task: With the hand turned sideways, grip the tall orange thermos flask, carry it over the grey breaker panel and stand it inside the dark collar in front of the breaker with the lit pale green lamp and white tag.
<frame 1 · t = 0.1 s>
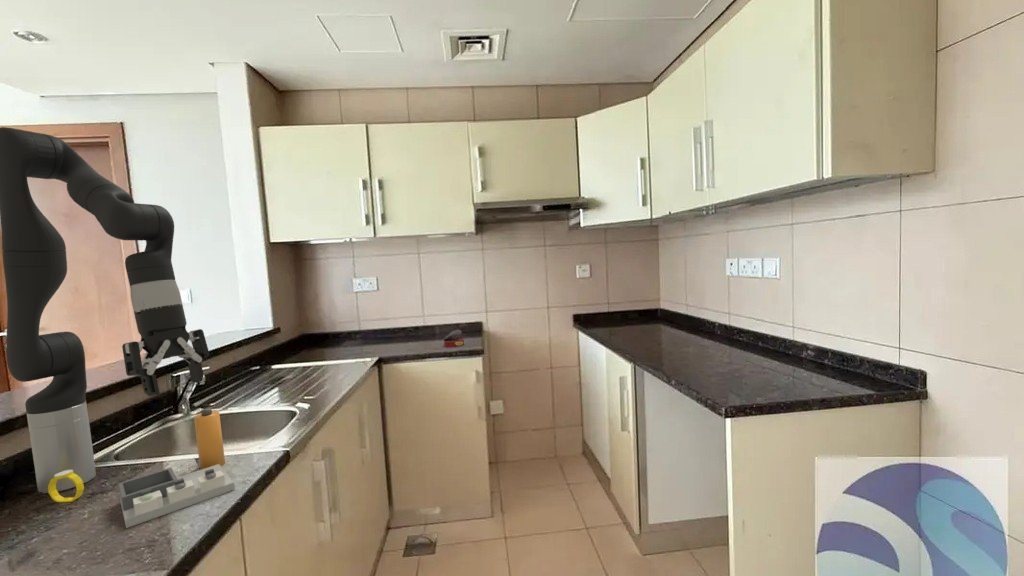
hand: (176, 388, 88), 22 cm above the table, tool pointing down, fingers open, 8 cm apart
breaker panel: (178, 495, 91), on the table
orange thermos flask: (212, 465, 105), on the table
canned food: (454, 345, 230), on the table
watch: (68, 501, 93), on the table
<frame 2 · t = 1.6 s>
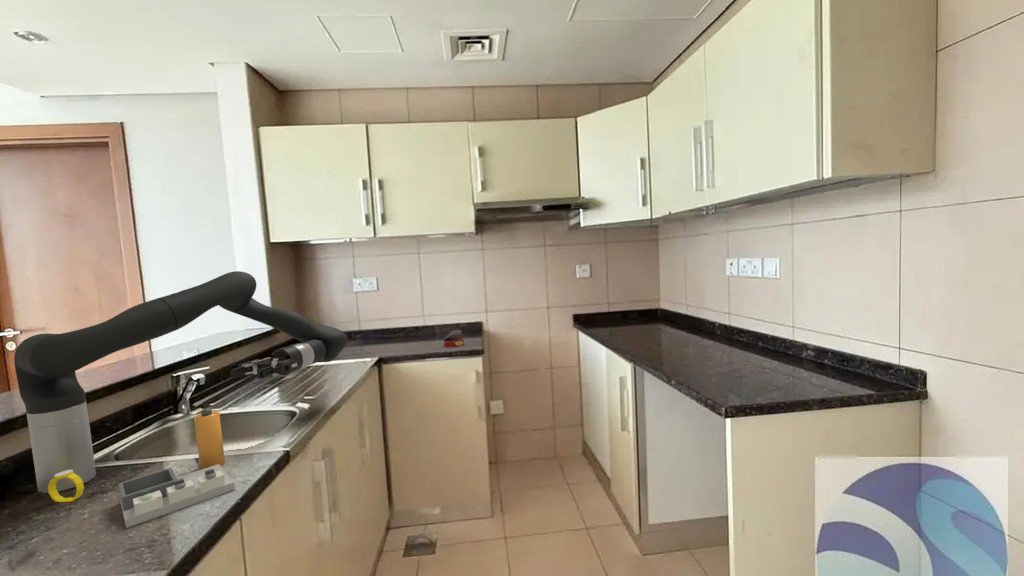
hand: (245, 374, 114), 18 cm above the table, tool horizontal, fingers open, 8 cm apart
nothing on the table moved.
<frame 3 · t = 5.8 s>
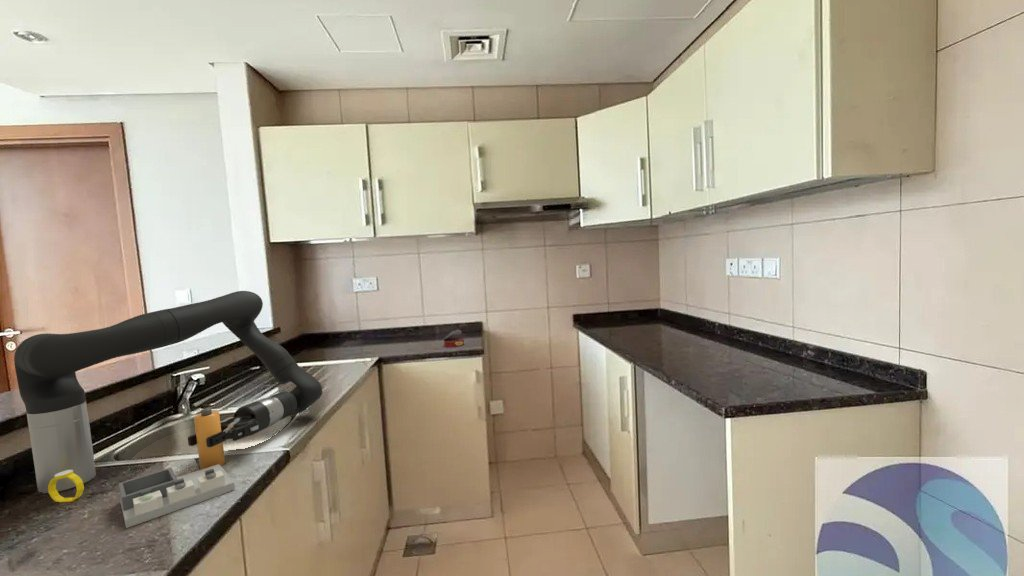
hand: (198, 442, 102), 7 cm above the table, tool horizontal, fingers closed on orange thermos flask, 4 cm apart
orange thermos flask: (212, 465, 105), on the table, touching gripper
everything else where it was.
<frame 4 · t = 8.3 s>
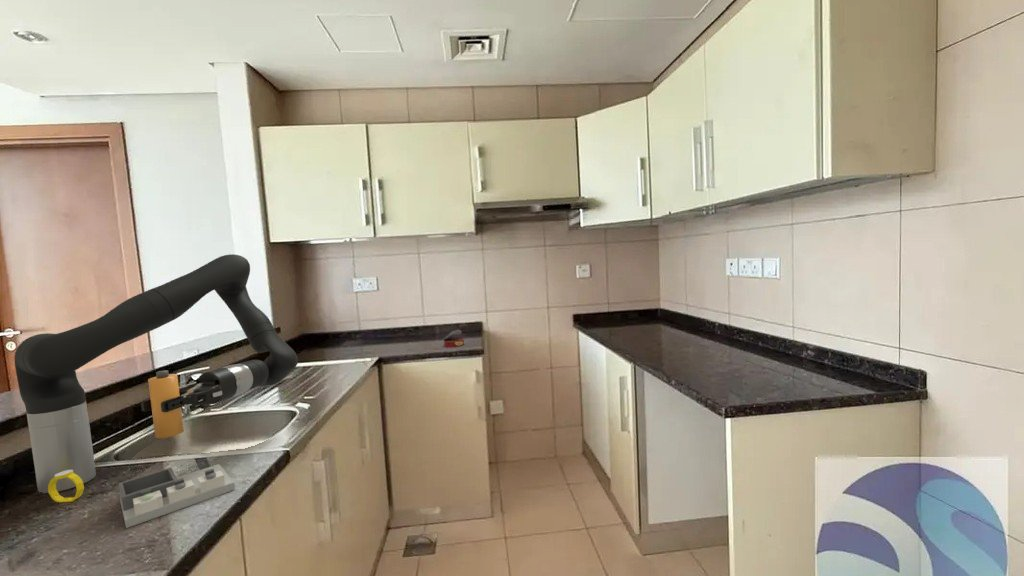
hand: (152, 407, 92), 18 cm above the table, tool horizontal, fingers closed on orange thermos flask, 4 cm apart
orange thermos flask: (169, 433, 95), point 11 cm above the table, touching gripper
everything else where it was.
when the fingers open (9 cm above the table, at t = 10.7 s): orange thermos flask drops 1 cm, resting on breaker panel.
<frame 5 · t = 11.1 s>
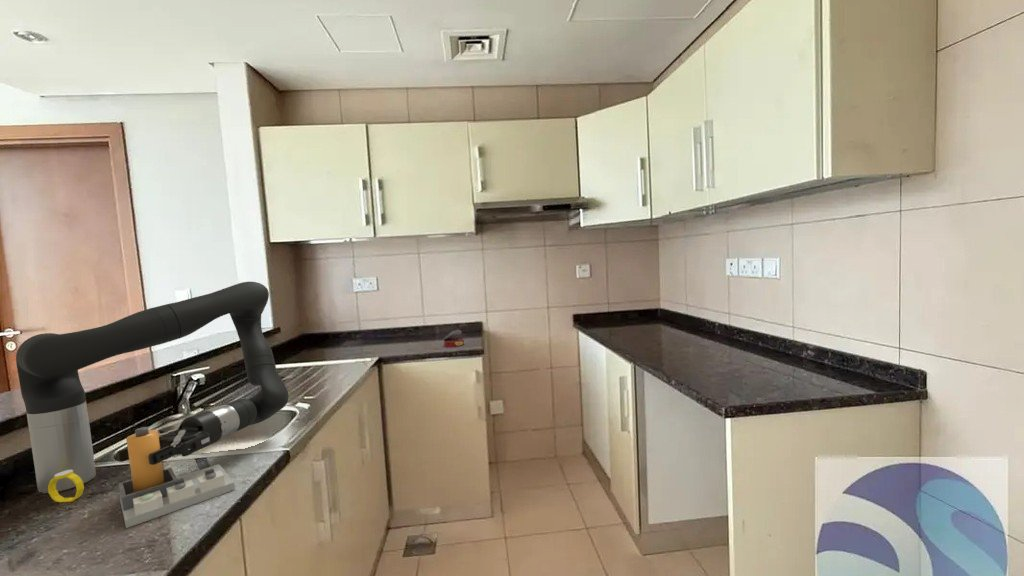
hand: (134, 458, 87), 10 cm above the table, tool horizontal, fingers open, 8 cm apart
orange thermos flask: (150, 493, 90), point 2 cm above the table, touching breaker panel
everything else where it was.
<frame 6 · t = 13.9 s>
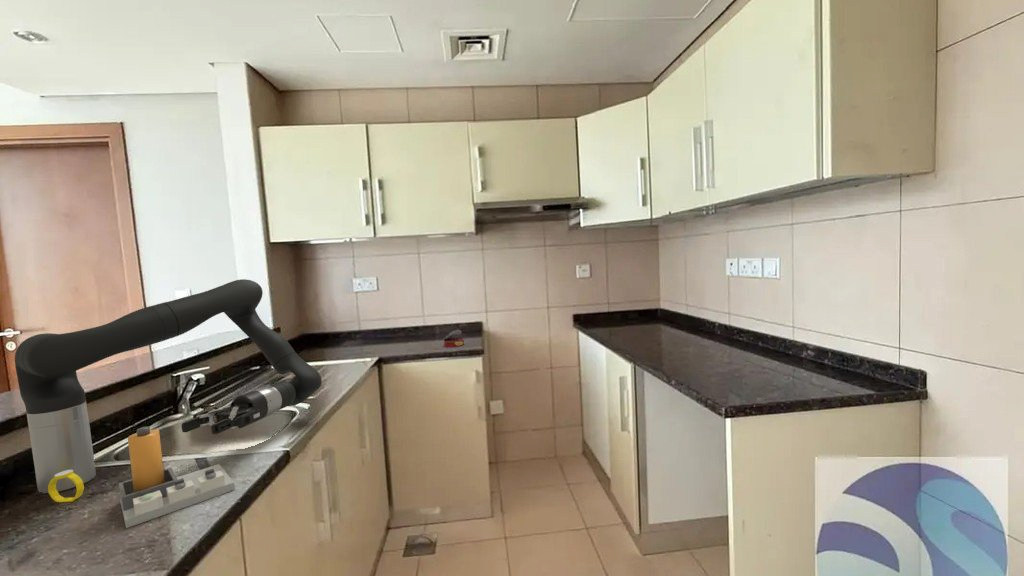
hand: (197, 429, 100), 10 cm above the table, tool horizontal, fingers open, 8 cm apart
nothing on the table moved.
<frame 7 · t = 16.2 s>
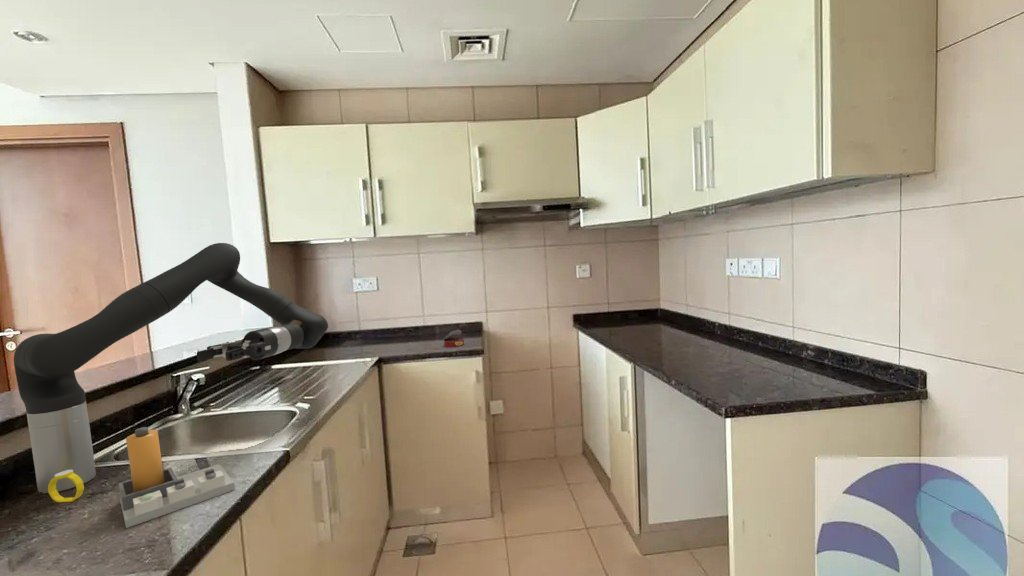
hand: (212, 356, 105), 25 cm above the table, tool horizontal, fingers open, 8 cm apart
nothing on the table moved.
at the end: orange thermos flask 0.1 cm from the target spot on the breaker panel, point 1.6 cm above the breaker panel's base; orange thermos flask tilted 2°; the gripper is holding nothing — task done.
